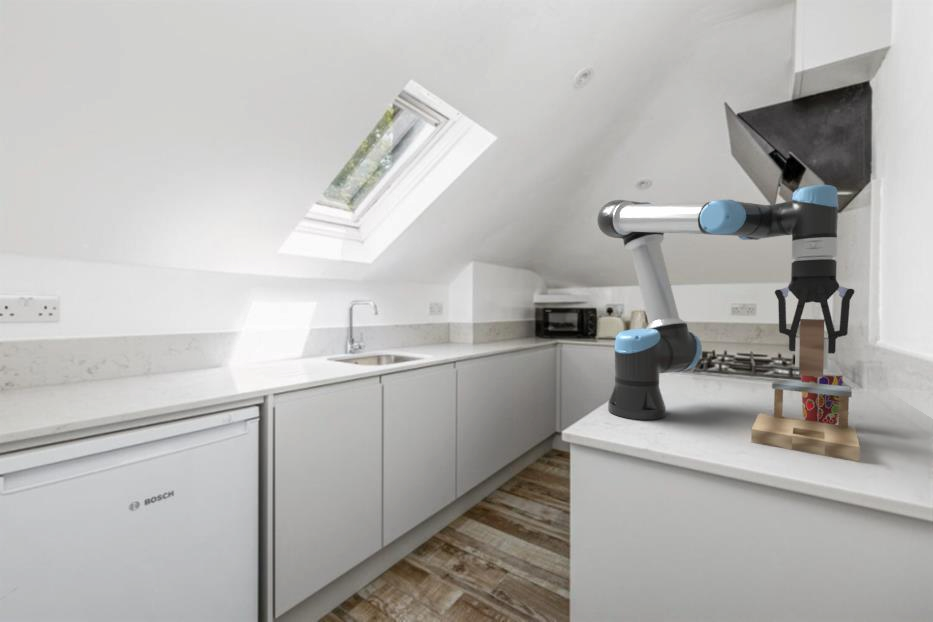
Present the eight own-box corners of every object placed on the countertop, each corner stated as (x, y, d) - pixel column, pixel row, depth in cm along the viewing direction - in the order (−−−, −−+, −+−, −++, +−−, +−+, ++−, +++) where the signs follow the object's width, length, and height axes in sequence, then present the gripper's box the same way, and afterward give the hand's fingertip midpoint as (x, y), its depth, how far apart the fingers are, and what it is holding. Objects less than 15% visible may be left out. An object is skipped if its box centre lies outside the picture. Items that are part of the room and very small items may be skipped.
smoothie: (843, 432, 102) (845, 349, 101) (799, 425, 107) (801, 347, 106) (839, 423, 109) (842, 346, 108) (798, 417, 114) (800, 344, 113)
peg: (799, 372, 95) (800, 318, 94) (823, 374, 92) (824, 319, 92) (799, 374, 92) (800, 319, 91) (823, 377, 89) (824, 320, 89)
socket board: (751, 441, 96) (752, 388, 95) (758, 424, 108) (759, 377, 108) (859, 461, 84) (861, 401, 84) (854, 440, 96) (855, 387, 96)
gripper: (763, 260, 94) (761, 365, 95) (869, 255, 83) (866, 374, 84) (766, 262, 99) (765, 361, 100) (866, 258, 89) (863, 369, 89)
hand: (811, 367), depth 92 cm, fingers closed on peg, 4 cm apart
